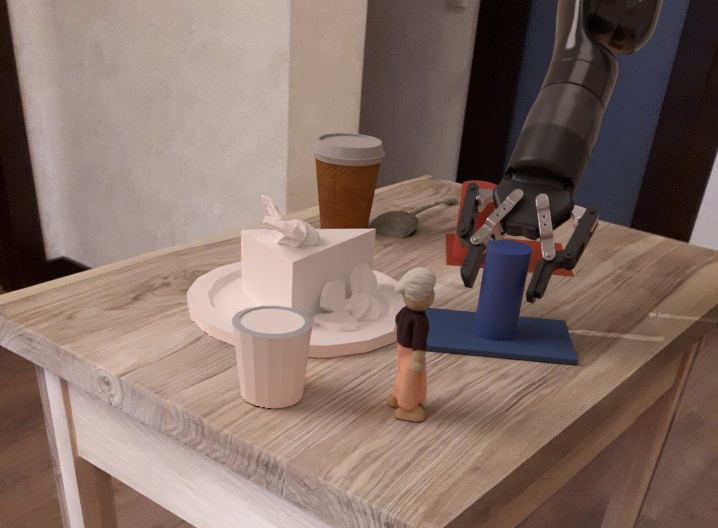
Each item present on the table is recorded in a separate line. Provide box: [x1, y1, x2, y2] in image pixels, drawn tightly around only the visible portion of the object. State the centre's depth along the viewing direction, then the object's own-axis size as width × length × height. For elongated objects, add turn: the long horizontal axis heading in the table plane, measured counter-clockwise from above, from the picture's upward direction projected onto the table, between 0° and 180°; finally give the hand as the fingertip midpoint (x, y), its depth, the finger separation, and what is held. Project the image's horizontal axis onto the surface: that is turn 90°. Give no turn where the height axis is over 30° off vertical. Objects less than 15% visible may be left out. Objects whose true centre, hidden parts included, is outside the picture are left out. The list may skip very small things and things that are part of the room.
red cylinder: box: [452, 180, 498, 262], centre depth 100 cm, size 4×4×9 cm
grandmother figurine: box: [386, 266, 437, 423], centre depth 67 cm, size 8×4×13 cm, turn 21°
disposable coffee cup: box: [311, 132, 386, 229], centre depth 106 cm, size 10×10×12 cm
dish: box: [186, 194, 406, 359], centre depth 84 cm, size 25×25×11 cm
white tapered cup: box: [232, 306, 313, 409], centre depth 69 cm, size 7×7×7 cm
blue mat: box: [425, 307, 579, 366], centre depth 84 cm, size 16×10×1 cm, turn 84°
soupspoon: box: [369, 195, 460, 239], centre depth 115 cm, size 22×3×7 cm
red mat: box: [445, 232, 575, 278], centre depth 105 cm, size 16×13×1 cm
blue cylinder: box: [474, 240, 532, 340], centre depth 81 cm, size 4×4×9 cm
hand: (498, 291), depth 80 cm, fingers open, 6 cm apart
